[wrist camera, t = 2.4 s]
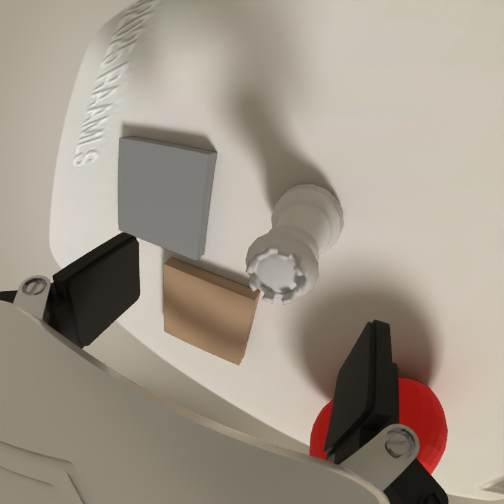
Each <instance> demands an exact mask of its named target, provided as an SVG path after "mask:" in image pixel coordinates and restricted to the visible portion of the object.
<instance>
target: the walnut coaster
mask: <svg viewBox="0 0 504 504" xmlns="http://www.w3.org/2000/svg"><path fill="white" fill-rule="evenodd" d="M163 293H164V331H165V332H167V333H169V334H171V335H173V336H175V337H177V338H179V339H181V340H183V341H185V342H187V343H189V344H191V345H193V346H196V347H198V348H200V349H202V350H204V351H207V352H209V353H211V354H213V355H215V356H218V357H220V358H222V359H225V360H227V361H229V362H232V363H234V364H237V365H239V364H240V363H241V361H242V359H243V357H244V354H245V350H246V346H247V342H248V338H249V334H250V330H251V326H252V322H253V318H254V314H255V310H256V306H257V302H258V298H259V294H260V291H257V290H255V291H252V289H251V288H249V287H246V286H244V285H241V284H238V283H236V282H233V281H231V280H228V279H225V278H223V277H220V276H217V275H215V274H212V273H210V272H207V271H205V270H202V269H199V268H197V267H194V266H192V265H189V264H187V263H184V262H182V261H179V260H177V259H174V258H170V259H169V260H168V261H167V262H165V263H164V274H163Z"/></svg>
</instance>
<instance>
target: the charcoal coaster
mask: <svg viewBox="0 0 504 504" xmlns="http://www.w3.org/2000/svg"><path fill="white" fill-rule="evenodd" d="M216 157H217V152H213V151H209V150H204V149H199V148H195V147H190V146H185V145H179V144H174V143H169V142H163V141H158V140H152V139H146V138H140V137H133V136H127V137H122V138H119V159H118V224H119V230H120V231H123V232H125V233H128V234H131V235H133V236H135V237H137V238H140V239H142V240H145V241H147V242H150V243H152V244H155V245H157V246H160V247H162V248H165V249H168V250H170V251H173V252H175V253H178V254H180V255H183V256H185V257H188V258H191V259H193V260H196V261H197V260H198V259H199V258H200V257H201V256H202V255H203V254H204V250H205V241H206V232H207V224H208V216H209V208H210V200H211V192H212V185H213V178H214V170H215V163H216Z"/></svg>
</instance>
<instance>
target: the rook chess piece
mask: <svg viewBox="0 0 504 504" xmlns="http://www.w3.org/2000/svg"><path fill="white" fill-rule="evenodd" d="M271 220H272V228H273V229H271V230H270V231H269V232H268V233H267V234H265V235H263V236H261V237H258V238H257V239H256V240H255V241H254V242H253V243H252V245H251V246H250V247H249V249H248V253H247V257H246V265H247V269H246V272H248V274H249V275H250V277H251V278H250V279H249V281H248V284H249V286H250V288H251V289H252V291H255V290H257V289H258V288H259V289H260V290H262V291H263V292H264V293H265V294H264V296H263V298H262V300H265V301H267V302H269V303H273V301H274V299H275V298H279V299H282V302H283V305H284V304H287V303H291V302H294V299H295V298H298V297H301V296H304V295H305V294H306V293H308V292H309V291H310V290H311V289H312V288H313V287H314V285H315V283H316V281H317V278H318V276H319V273H318V260H319V255H320V254H322V253H325V252H327V251H328V250H329V249H330V248H331V247H332V246H333V245H334V244H335V243H336V242H337V240H338V238H339V235H340V233H341V231H342V228H343V226H344V221H343V210H342V208H341V206H340V204H339V202H338V200H337V198H336V197H334V196H333V195H332V194H331V193H330V192H329V191H328V190H327V189H325V188H322V187H319V186H317V185H314V184H299V185H297V186H294V187H292V188H290V189H288V190H286V191H285V193H284V194H283V195H282V196H281V197H280V198H279V200H278V202H277V203H276V204H275V207H274V210H273V214H272V218H271Z"/></svg>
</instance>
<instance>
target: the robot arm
mask: <svg viewBox="0 0 504 504" xmlns="http://www.w3.org/2000/svg"><path fill="white" fill-rule="evenodd" d="M53 280H54V282H53V283H50V280H49V279H48V278H47V277H44V276H39V275H37V276H32V277H29V278H27V279H26V280H24V281H23V282H22V283H21V285H20V286H19V289H18V290H17V291H3V292H0V504H448V497H447V494H446V493H445V491H444V490H443V489H442V487H441V486H440V485H439V484H438V483H437V482H436V480H435V479H434V478H433V477H432V476H431V474H430V473H429V472H428V471H427V470H426V469H425V467H424V466H423V465H422V464H421V463H420V461H419V460H418V459H417V458H416V456H417V454H418V452H419V448H420V447H419V440H418V437H417V435H416V434H415V433H414V431H413V430H412V429H410V428H409V427H408V426H405V425H403V424H399V377H398V366H397V364H396V363H393V362H392V351H391V336H390V325H389V324H388V323H385V322H381V321H378V320H374V321H373V322H372V323H371V322H368V323H367V324H366V326H365V328H364V330H363V331H362V333H361V335H360V337H359V339H358V340H357V342H356V344H355V346H354V347H353V349H352V351H351V352H350V354H349V356H348V358H347V359H346V361H345V363H344V364H343V366H342V367H341V369H340V371H339V374H338V377H337V383H336V389H335V395H334V400H333V406H332V411H331V416H330V422H329V426H328V431H327V436H326V440H325V445H324V452H327V457H326V460H323V459H320V458H316V457H313V456H310V455H307V454H304V453H301V452H297V451H294V450H291V449H287V448H284V447H281V446H278V445H275V444H272V443H269V442H266V441H264V440H261V439H258V438H255V437H253V436H250V435H247V434H244V433H242V432H239V431H236V430H234V429H231V428H228V427H226V426H224V425H221V424H219V423H217V422H214V421H212V420H209V419H207V418H205V417H203V416H200V415H198V414H196V413H194V412H192V411H189V410H187V409H185V408H183V407H181V406H179V405H177V404H175V403H173V402H171V401H169V400H167V399H165V398H163V397H161V396H159V395H157V394H155V393H153V392H152V391H149V390H148V389H146V388H144V387H142V386H141V385H139V384H137V383H135V382H133V381H132V380H130V379H128V378H127V377H125V376H123V375H122V374H120V373H118V372H117V371H115V370H113V369H111V368H110V367H108V366H107V365H105V364H104V363H102V362H101V361H99V360H97V359H96V358H94V357H93V356H91V355H90V354H88V353H87V352H85V351H84V350H82V348H83V347H84V346H88V345H90V344H91V343H92V342H93V341H94V340H95V339H96V338H97V337H98V336H99V335H100V334H101V333H102V332H103V331H104V330H106V329H107V328H108V327H109V326H110V325H111V324H112V323H113V322H114V321H115V320H116V319H117V318H118V317H119V316H121V315H122V314H123V313H124V312H125V311H126V310H127V309H128V308H129V307H130V306H131V305H133V304H134V303H135V302H136V301H137V300H138V298H139V296H140V276H139V243H138V241H137V239H136V237H135V236H133V235H131V234H128V233H125V232H122V233H120V234H118V235H117V236H115V237H113V238H112V239H110V240H108V241H107V242H105V243H103V244H102V245H100V246H98V247H97V248H95V249H93V250H92V251H90V252H88V253H87V254H85V255H84V256H82V257H81V258H79V259H77V260H76V261H74V262H73V263H71V264H70V265H68V266H66V267H65V268H63V269H62V270H60V271H59V272H58V273H56V274H54V275H53ZM329 461H331V462H334V463H331V462H329Z"/></svg>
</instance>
